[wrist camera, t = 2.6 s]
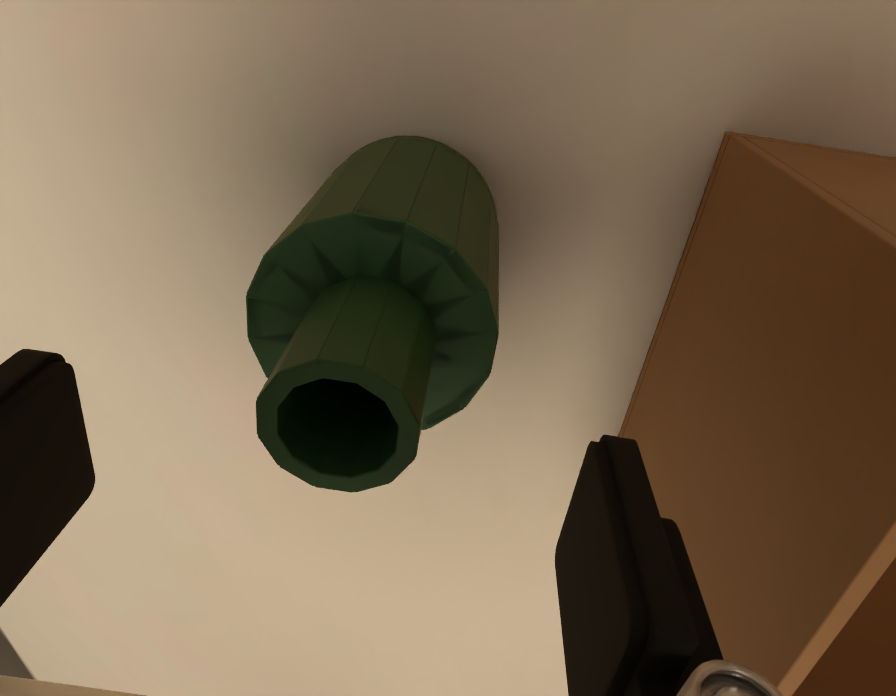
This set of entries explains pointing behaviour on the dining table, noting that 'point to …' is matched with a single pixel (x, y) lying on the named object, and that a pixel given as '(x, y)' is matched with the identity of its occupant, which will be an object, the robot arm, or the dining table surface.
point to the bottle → (375, 313)
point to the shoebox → (784, 413)
